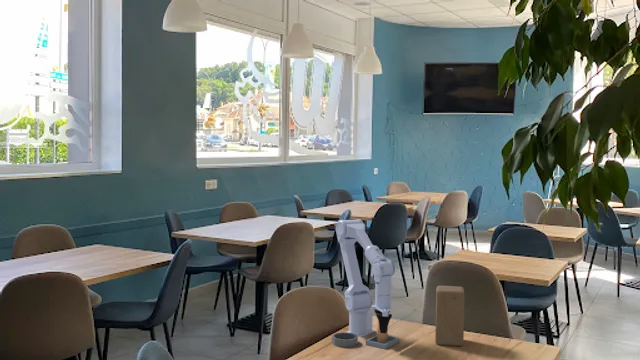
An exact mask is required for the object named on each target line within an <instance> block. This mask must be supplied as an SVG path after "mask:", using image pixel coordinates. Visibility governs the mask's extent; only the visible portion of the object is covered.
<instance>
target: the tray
mask: <svg viewBox="0 0 640 360" xmlns="http://www.w3.org/2000/svg"><path fill="white" fill-rule="evenodd" d="M399 342H400V338H399V337H396V336H392V335H388V341H387V342H378V341H377V335H375V336H373V337H370V338H368V339H366V340H365V345H366V346H370V347H374V348H378V349H384V350H386V349H388V348H390V347H392V346H394V345H396V344H398V343H399Z"/></svg>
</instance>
